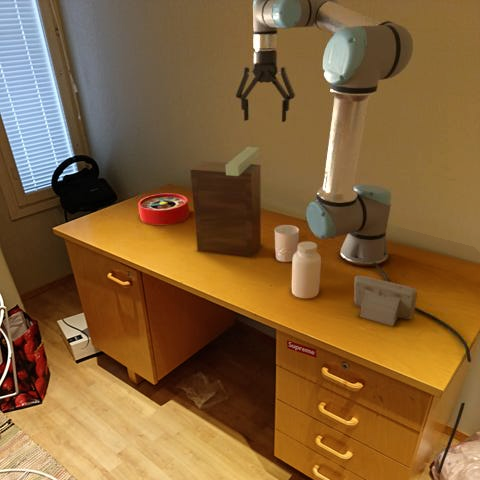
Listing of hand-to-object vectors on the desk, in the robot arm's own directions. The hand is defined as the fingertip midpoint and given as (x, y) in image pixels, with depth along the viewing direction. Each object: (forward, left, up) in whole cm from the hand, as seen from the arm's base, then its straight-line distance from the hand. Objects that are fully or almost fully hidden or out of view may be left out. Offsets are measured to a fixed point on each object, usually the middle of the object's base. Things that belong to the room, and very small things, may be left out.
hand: (264, 120), depth 157 cm
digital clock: (-73, -14, -37) cm, 83 cm away
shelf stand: (-22, +18, -37) cm, 46 cm away
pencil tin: (-22, +12, -9) cm, 27 cm away
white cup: (-34, +1, -37) cm, 50 cm away
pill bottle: (-57, +2, -37) cm, 68 cm away
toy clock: (+16, +38, -37) cm, 56 cm away
